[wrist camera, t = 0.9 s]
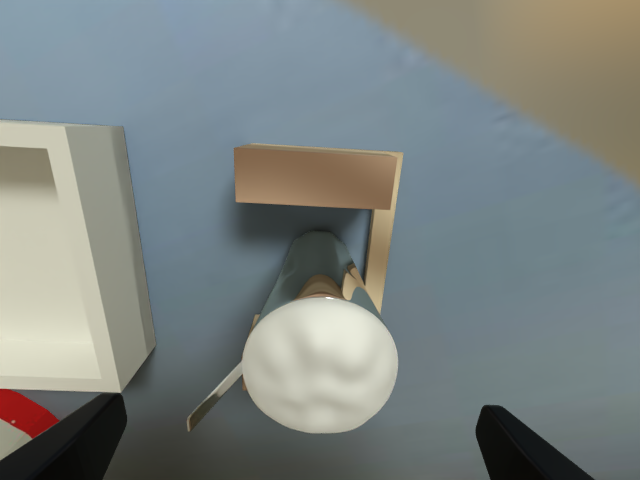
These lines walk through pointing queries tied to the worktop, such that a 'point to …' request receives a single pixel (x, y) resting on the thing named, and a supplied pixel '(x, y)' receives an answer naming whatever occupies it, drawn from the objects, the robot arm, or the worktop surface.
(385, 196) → the wooden joined piece
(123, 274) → the tray
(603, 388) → the worktop surface
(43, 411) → the kitchen timer
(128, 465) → the worktop surface
